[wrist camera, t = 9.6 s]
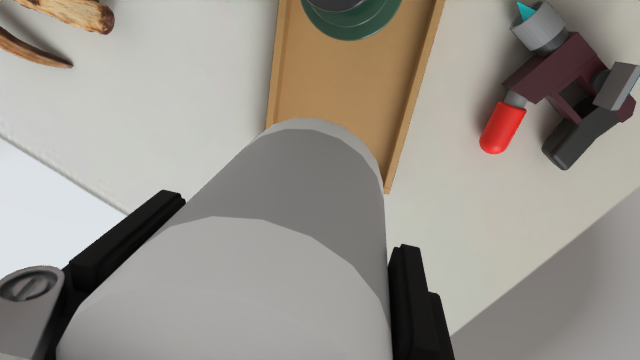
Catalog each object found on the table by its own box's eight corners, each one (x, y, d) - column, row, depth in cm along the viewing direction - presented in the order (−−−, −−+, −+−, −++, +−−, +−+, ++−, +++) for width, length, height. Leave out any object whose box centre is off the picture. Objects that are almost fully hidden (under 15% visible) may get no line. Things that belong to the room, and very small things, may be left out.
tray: (308, -198, 22) (301, -219, 20) (489, -170, 21) (500, -189, 19) (267, 158, 32) (260, 167, 30) (388, 184, 31) (389, 195, 30)
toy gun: (531, -19, 24) (566, -28, 19) (635, 102, 26) (687, 118, 22) (422, 88, 28) (430, 100, 23) (519, 185, 30) (544, 214, 25)
